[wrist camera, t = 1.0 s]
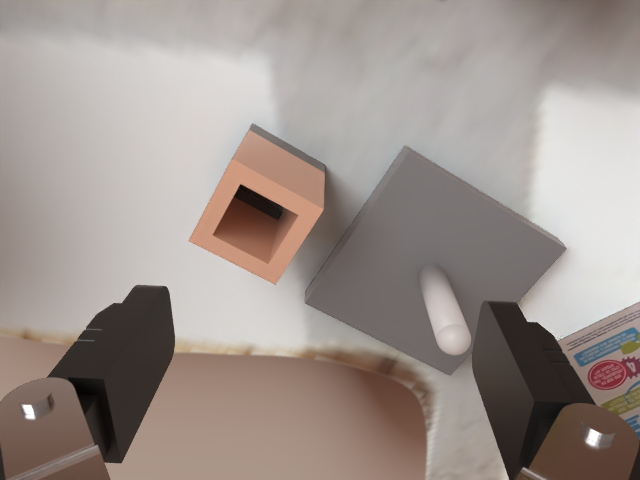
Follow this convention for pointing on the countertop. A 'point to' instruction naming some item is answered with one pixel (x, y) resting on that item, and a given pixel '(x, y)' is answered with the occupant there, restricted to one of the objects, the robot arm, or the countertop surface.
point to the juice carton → (610, 362)
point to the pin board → (429, 262)
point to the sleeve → (263, 206)
